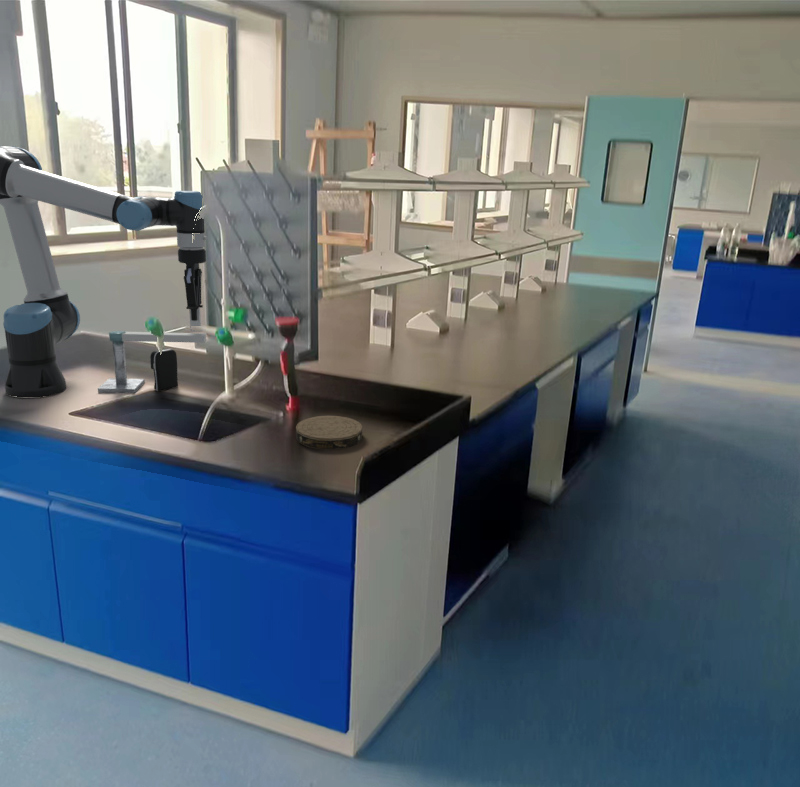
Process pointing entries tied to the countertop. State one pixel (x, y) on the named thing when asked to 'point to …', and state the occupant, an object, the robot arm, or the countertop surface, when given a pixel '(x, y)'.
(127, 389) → the post
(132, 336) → the swing arm
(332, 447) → the grey round disc
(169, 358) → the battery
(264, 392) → the countertop surface
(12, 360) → the robot arm
